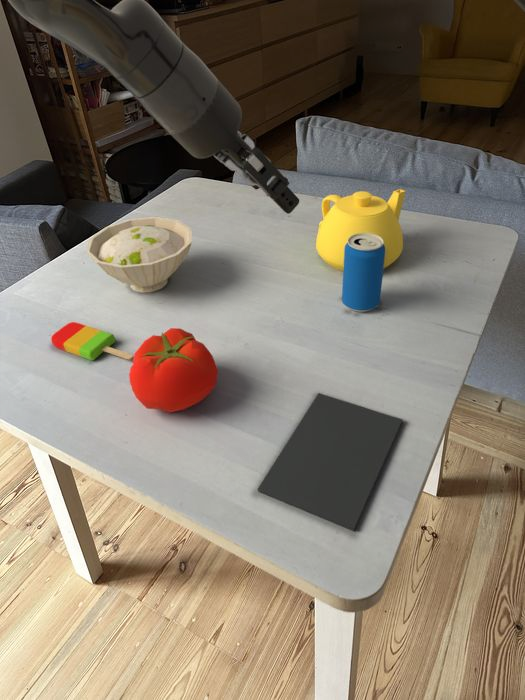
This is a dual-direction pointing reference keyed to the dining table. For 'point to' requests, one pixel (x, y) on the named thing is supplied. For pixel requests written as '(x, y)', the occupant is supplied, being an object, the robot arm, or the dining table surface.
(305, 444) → the place mat
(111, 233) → the bowl
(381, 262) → the beverage can
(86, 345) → the popsicle
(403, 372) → the dining table surface
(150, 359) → the tomato
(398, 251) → the teapot
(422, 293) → the dining table surface
